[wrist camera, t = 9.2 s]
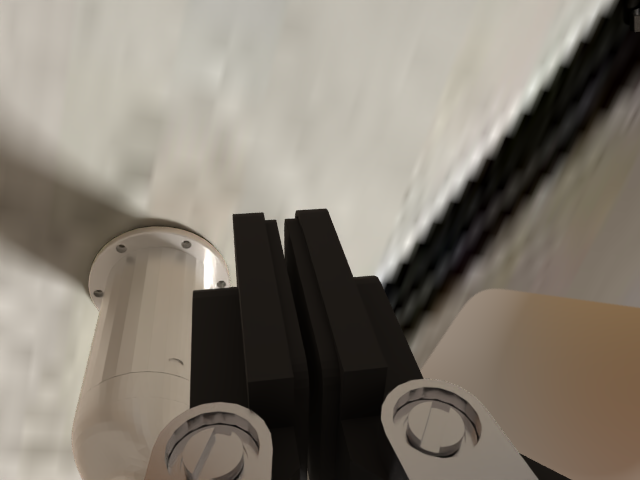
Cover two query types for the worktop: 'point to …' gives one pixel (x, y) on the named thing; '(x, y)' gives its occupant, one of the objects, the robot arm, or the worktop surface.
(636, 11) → the coffee press
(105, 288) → the robot arm
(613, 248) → the worktop surface
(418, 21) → the worktop surface
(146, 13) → the worktop surface
